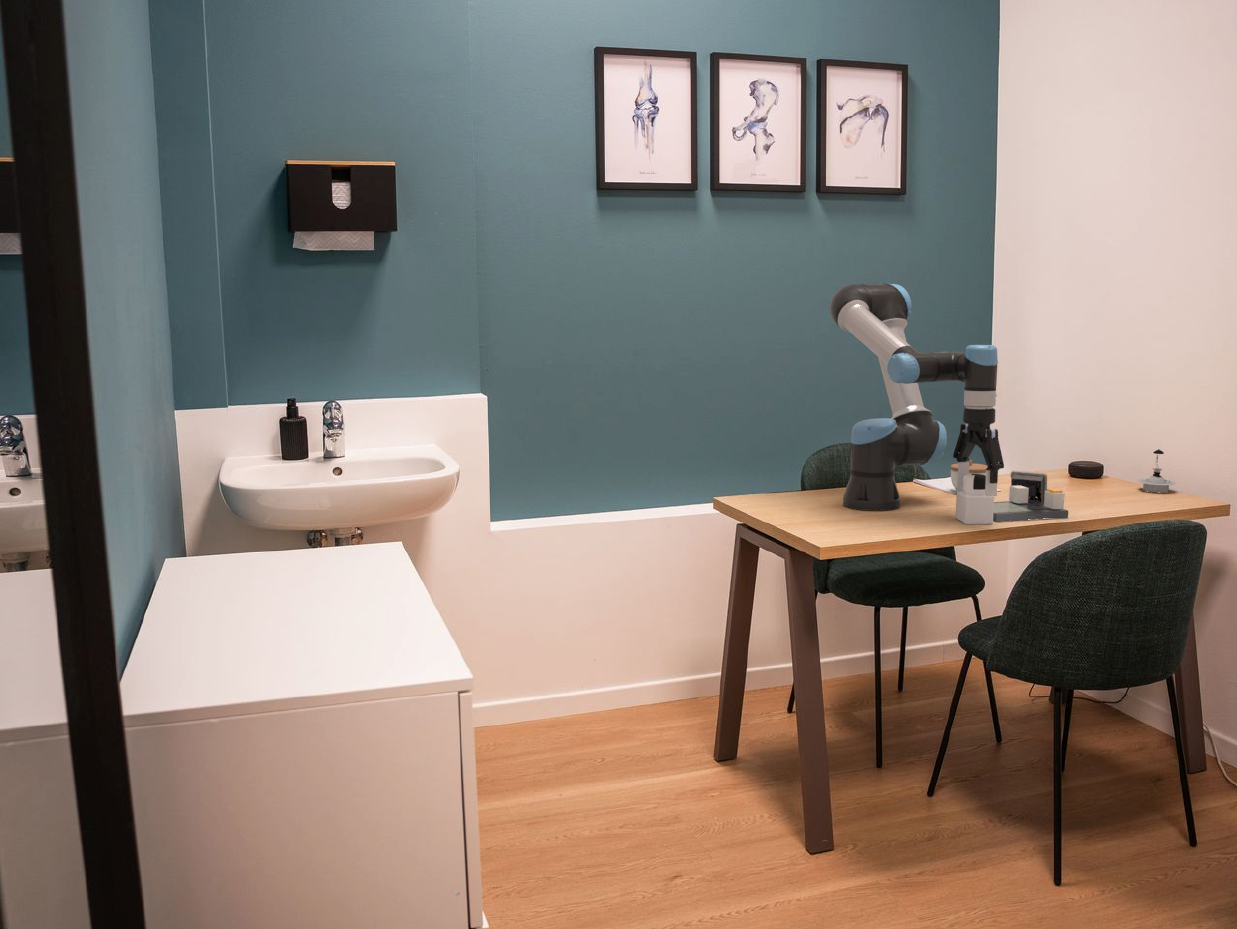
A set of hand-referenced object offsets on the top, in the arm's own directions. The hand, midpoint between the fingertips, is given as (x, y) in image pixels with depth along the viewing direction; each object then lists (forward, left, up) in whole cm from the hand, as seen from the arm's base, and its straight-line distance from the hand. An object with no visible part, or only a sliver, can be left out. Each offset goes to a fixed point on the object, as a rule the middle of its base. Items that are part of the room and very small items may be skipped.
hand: (976, 491), depth 261 cm
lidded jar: (+18, +35, -8) cm, 41 cm away
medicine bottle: (0, 0, -8) cm, 8 cm away
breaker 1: (+18, +10, -5) cm, 21 cm away
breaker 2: (+23, +1, -5) cm, 23 cm away
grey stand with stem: (+71, +25, -8) cm, 76 cm away
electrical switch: (+25, +16, -8) cm, 31 cm away
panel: (+15, +5, -8) cm, 18 cm away
